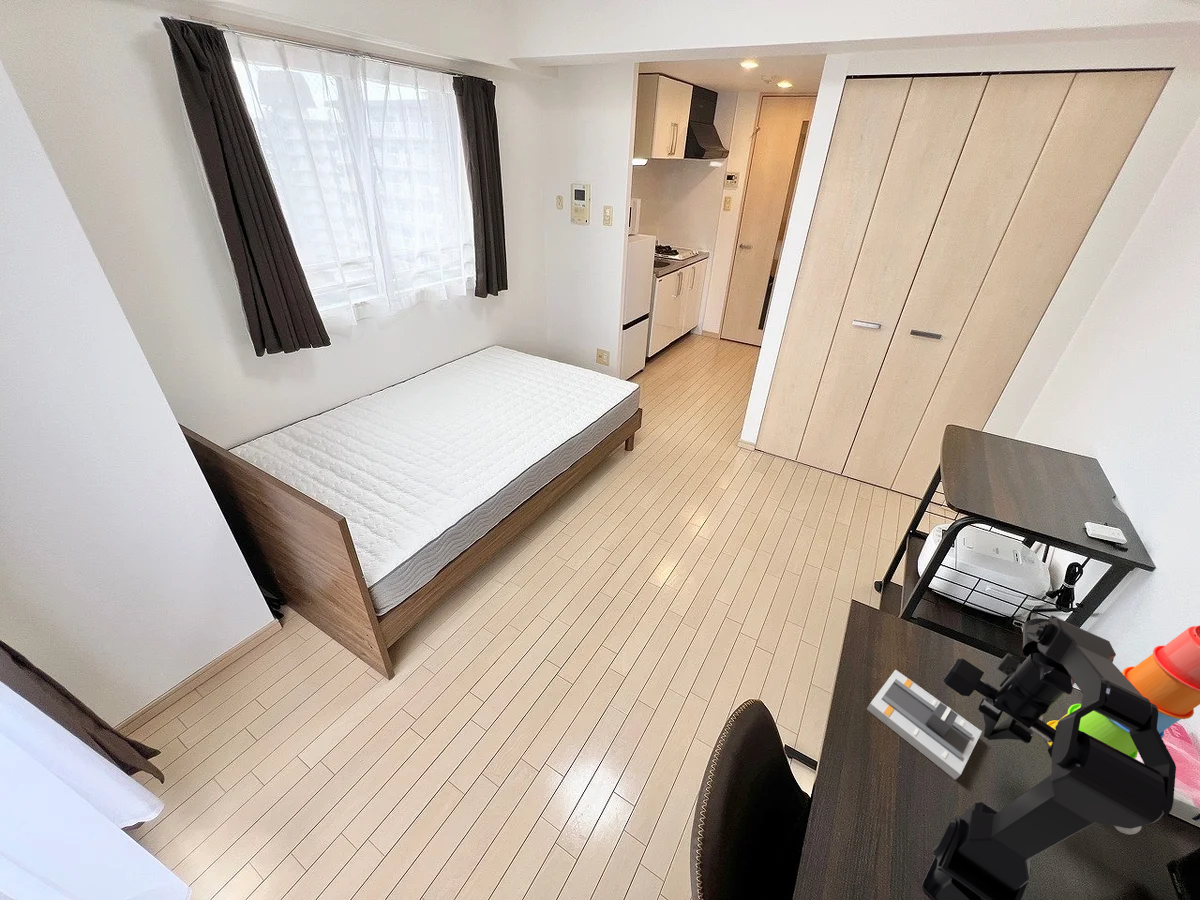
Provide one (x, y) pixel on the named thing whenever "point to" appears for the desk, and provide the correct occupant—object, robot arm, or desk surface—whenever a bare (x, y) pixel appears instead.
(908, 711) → the console board
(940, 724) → the fader knob
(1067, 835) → the robot arm
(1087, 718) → the stacking cups
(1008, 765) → the desk surface
